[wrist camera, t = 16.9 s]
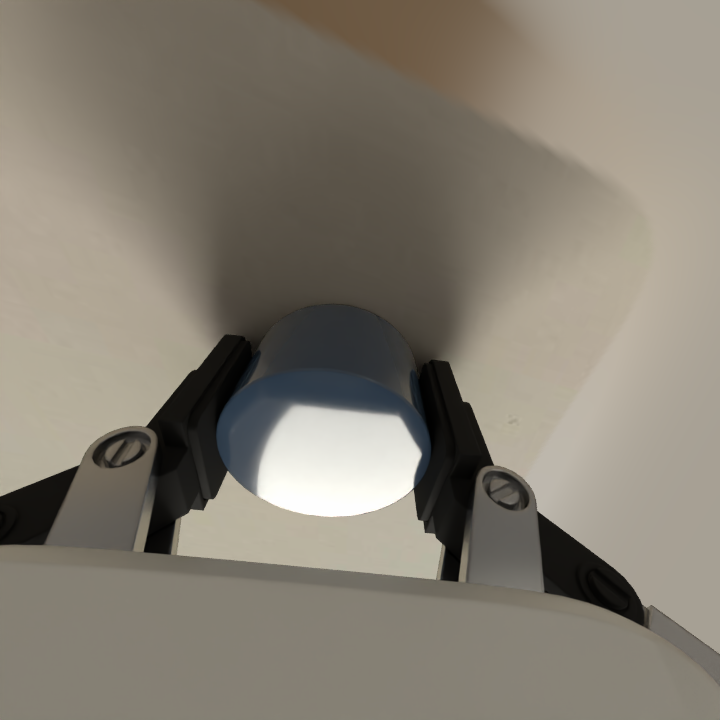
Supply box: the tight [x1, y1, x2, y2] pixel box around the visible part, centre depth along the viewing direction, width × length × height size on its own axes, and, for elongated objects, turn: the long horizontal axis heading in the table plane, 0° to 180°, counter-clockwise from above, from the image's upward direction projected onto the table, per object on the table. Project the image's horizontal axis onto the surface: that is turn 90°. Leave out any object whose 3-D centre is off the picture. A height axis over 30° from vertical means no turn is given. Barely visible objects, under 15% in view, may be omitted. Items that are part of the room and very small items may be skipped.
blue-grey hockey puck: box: [216, 304, 432, 517], centre depth 10 cm, size 6×6×4 cm
